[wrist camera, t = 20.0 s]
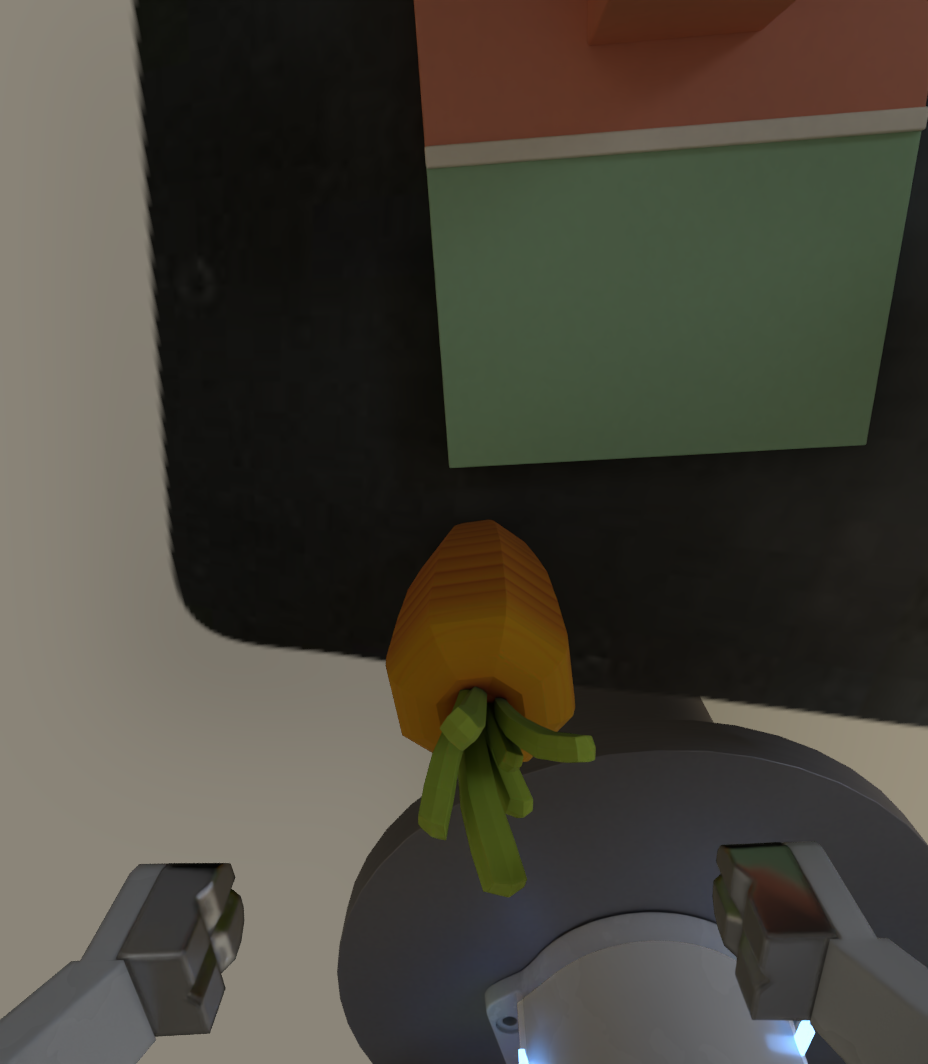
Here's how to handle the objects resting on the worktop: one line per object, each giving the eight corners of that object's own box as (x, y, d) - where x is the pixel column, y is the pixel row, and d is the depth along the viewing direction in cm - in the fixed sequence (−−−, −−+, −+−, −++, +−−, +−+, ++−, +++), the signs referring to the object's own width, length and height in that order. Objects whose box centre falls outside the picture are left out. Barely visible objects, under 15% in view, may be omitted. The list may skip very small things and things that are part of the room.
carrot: (433, 459, 24) (372, 705, 10) (558, 489, 25) (659, 765, 11) (407, 573, 26) (326, 909, 12) (523, 599, 27) (573, 956, 13)
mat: (851, 438, 24) (869, 446, 23) (450, 461, 24) (448, 470, 23) (980, -331, 16) (1017, -376, 15) (395, -267, 17) (389, -305, 16)
